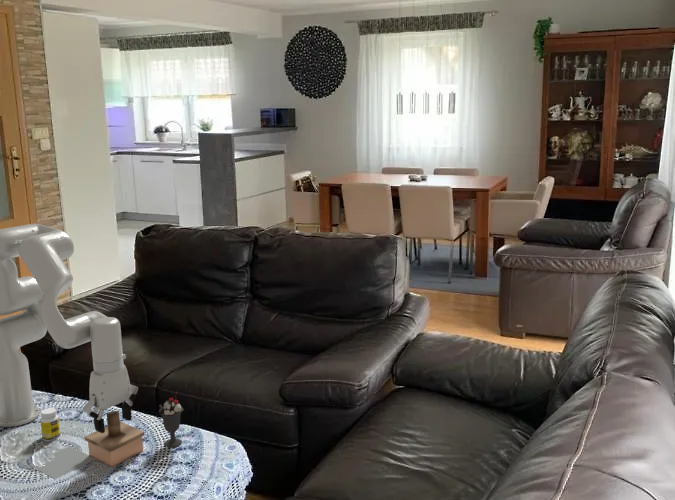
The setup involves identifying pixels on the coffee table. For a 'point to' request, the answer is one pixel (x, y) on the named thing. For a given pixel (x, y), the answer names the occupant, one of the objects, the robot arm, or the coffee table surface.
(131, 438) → the lid
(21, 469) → the coffee table surface
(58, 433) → the supplement bottle
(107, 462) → the open wooden box
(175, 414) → the sundae
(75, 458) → the mat
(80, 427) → the coffee table surface
